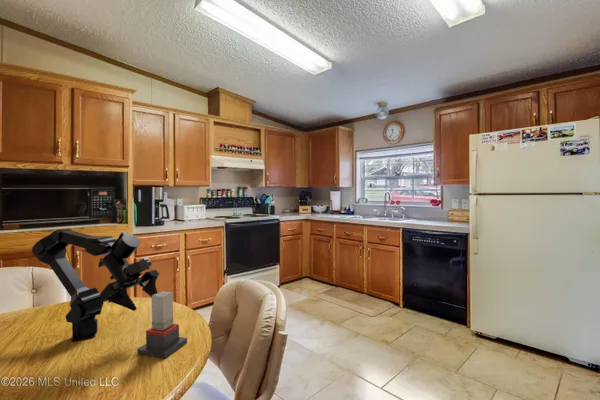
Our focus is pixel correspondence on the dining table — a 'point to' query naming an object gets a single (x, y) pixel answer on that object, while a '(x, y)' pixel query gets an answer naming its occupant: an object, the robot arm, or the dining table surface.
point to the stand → (162, 342)
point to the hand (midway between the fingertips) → (147, 304)
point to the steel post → (162, 311)
